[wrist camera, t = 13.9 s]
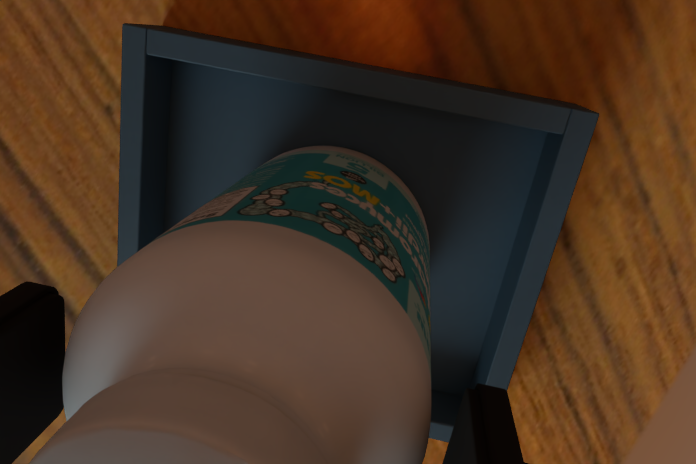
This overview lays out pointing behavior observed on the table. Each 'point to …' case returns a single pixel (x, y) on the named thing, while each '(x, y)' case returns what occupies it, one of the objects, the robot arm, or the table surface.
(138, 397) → the pill bottle
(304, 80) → the tray
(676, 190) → the table surface
